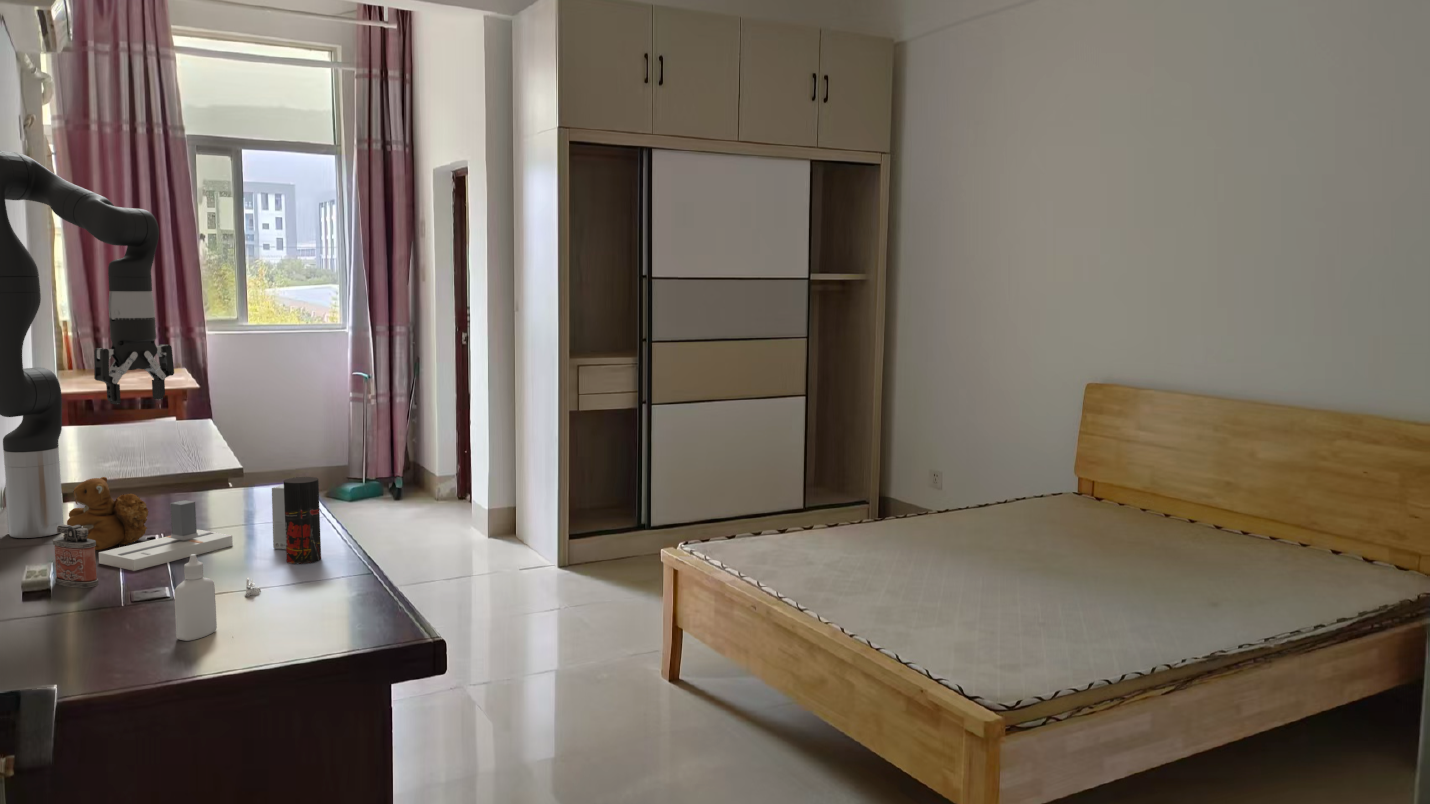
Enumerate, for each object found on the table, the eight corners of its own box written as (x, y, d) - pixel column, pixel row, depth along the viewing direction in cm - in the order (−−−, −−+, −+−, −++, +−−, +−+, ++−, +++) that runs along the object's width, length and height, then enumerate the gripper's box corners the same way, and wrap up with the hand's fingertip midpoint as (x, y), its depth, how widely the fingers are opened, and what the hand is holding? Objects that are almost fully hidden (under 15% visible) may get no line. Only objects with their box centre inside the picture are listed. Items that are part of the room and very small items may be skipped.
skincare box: (292, 550, 197) (290, 488, 195) (272, 549, 198) (270, 487, 196) (311, 542, 203) (309, 482, 201) (291, 541, 204) (289, 481, 202)
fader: (171, 538, 195) (169, 502, 195) (185, 534, 198) (183, 500, 197) (183, 540, 194) (181, 505, 193) (197, 537, 197) (196, 502, 196)
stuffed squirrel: (76, 540, 202) (71, 474, 201) (156, 535, 207) (153, 471, 206) (62, 553, 193) (58, 484, 192) (147, 548, 198) (143, 480, 196)
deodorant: (280, 559, 190) (277, 479, 188) (312, 553, 194) (309, 475, 193) (295, 566, 186) (292, 484, 184) (327, 559, 190) (324, 480, 189)
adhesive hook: (244, 595, 170) (243, 576, 170) (261, 593, 171) (260, 575, 171) (244, 600, 168) (243, 581, 167) (261, 598, 169) (261, 579, 168)
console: (99, 563, 187) (98, 551, 186) (198, 539, 204) (197, 528, 204) (134, 570, 182) (133, 559, 182) (232, 545, 200) (232, 534, 200)
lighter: (103, 583, 175) (100, 525, 173) (85, 588, 171) (82, 529, 170) (68, 578, 177) (64, 521, 176) (50, 583, 174) (46, 525, 173)
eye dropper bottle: (172, 635, 150) (167, 554, 148) (213, 627, 153) (210, 548, 152) (179, 643, 146) (175, 561, 145) (221, 635, 150) (218, 554, 149)
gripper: (154, 314, 201) (159, 396, 203) (82, 316, 189) (87, 404, 191) (180, 315, 198) (184, 399, 200) (107, 317, 185) (112, 406, 187)
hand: (136, 401), depth 195 cm, fingers open, 8 cm apart
